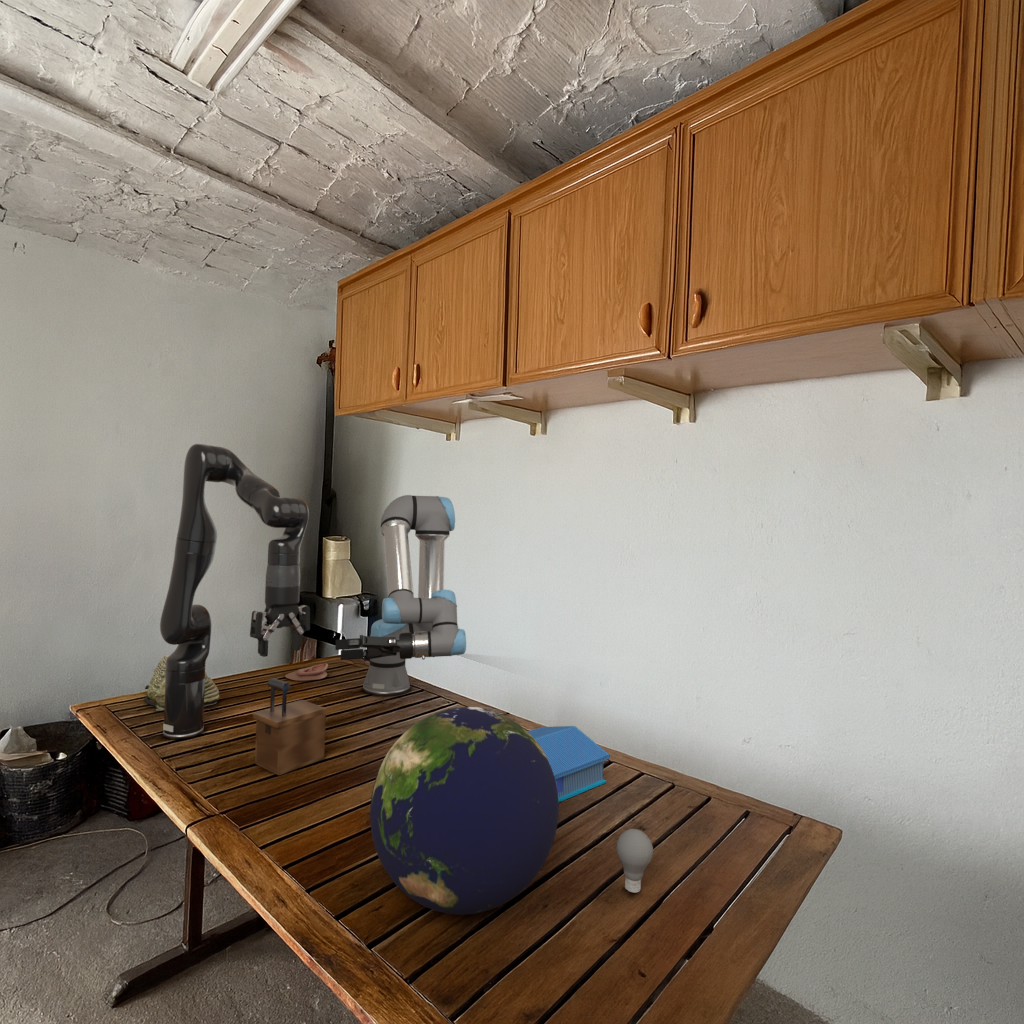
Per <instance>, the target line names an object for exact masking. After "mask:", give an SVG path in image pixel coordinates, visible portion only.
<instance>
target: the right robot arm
mask: <svg viewBox="0 0 1024 1024" xmlns="http://www.w3.org/2000/svg"><path fill="white" fill-rule="evenodd" d="M455 528H456V513H455V508H454V505H453V502H452V500H451V499H450V498H448V497H446V496H440V495H438V496H437V495H411V494H404V495H401V496H399V497H396V498H395V499H393V500H392V501H391V502H390V503H389V504H388V505H387V506H386V508H385V509H384V511H383V513H382V515H381V518H380V534H381V535H382V536H383V537H384V550H385V551H384V552H385V565H386V566H385V567H386V568H385V569H386V581H387V582H386V583H387V596H388V597H385V598H383V599H382V603H381V604H382V605H381V619H378V620H376V621H374V622H373V624H372V625H371V627H370V634H369V635H363V634H360V635H359V637H357V638H356V637H355V638H341V639H335V647H334V648H335V651H338V650H339V651H340V661H346V660H359V659H361V660H362V659H363V662H368V661H369V666H368V670H367V673H366V675H365V678H364V680H363V684H362V691H363V692H364V693H366V694H368V695H372V696H377V697H378V696H379V697H392V696H393V697H394V696H400V695H404V694H406V693H408V692H409V691H410V690H411V682H410V679H409V674H408V670H407V667H406V661H407V660H408V659H409V660H411V659H412V658H415V659H421V660H425V659H426V658H438V657H452V656H460V655H461V656H462V655H464V654H465V653H466V651H467V637H466V635H467V634H466V631H465V629H464V628H459V626H458V625H459V624H458V605H457V597H456V594H455V592H454V591H453V590H451V589H445V555H446V554H445V553H446V552H445V551H446V541H447V539H449V537H450V533H451V532H452V531H454V530H455ZM411 531H414V532H415V533H414V535H415V537H416V538H417V539H418V540H419V550H418V551H419V552H418V556H419V557H418V586H417V587H418V590H417V597H414V583H413V574H412V564H411V552H410V543H409V542H410V541H409V534H410V533H411Z"/></svg>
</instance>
